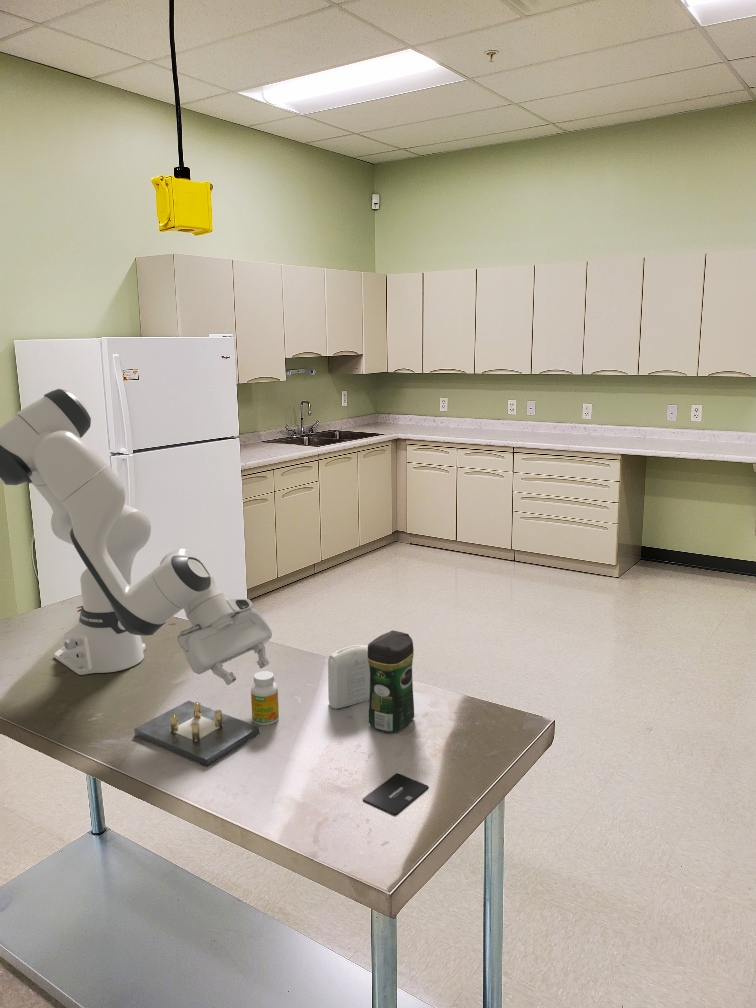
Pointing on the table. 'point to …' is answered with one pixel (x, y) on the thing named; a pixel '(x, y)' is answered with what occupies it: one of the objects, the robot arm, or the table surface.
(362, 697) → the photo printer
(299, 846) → the table surface
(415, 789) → the solid state drive
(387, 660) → the coffee jar
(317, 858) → the table surface
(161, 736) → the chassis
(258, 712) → the supplement bottle
